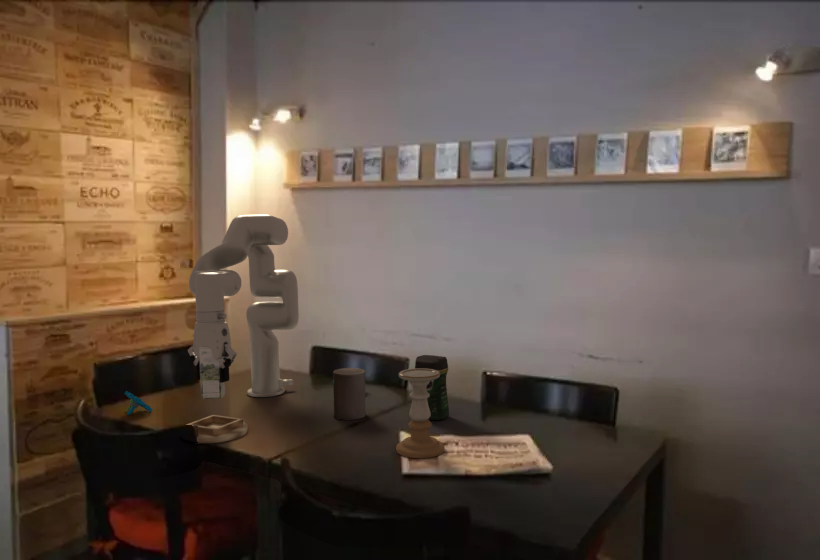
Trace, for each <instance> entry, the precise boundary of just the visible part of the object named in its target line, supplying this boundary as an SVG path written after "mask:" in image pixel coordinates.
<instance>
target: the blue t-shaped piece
mask: <svg viewBox="0 0 820 560" xmlns="http://www.w3.org/2000/svg"><path fill="white" fill-rule="evenodd" d="M124 395H126V396H127V398H128V399H130V400H129V406H128V407H127V408H126V409H125V412H126V411H128V412H126V415H127V414H128V415H127V416H129V415H130V416H131V414H132V413H133V412H134V411H135V410H136V409H137V408H139V407H140V408H141V407H142V408H143V409H144V410H146V411H148V412H149V411H150V413H152V412H153V408H152V407H151V406H150V405H149V404H146V403H145V401H143V399H142V398H140V397H137V396H136V395H135V394H133V393H132V392H129V391H127V390H126V391H125V392H124Z"/></svg>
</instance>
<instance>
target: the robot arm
mask: <svg viewBox="0 0 820 560" xmlns="http://www.w3.org/2000/svg"><path fill="white" fill-rule="evenodd" d="M288 238H289V228H288V224H287V223H286V222H285V221H284V219H282V218H279V217H277V216H273V215H270V214H243V215H242V214H241V215H238V216H235V217H234V218H233V219H232V220H231V222H230V224H229V226H228V228H227V230H226V233H225V235H224V237H223V238H222V241H221V244H219V245H217V246H215V247H213V248H212V249H210V250H209V251H207V252H205V253H204V254H203V255H201V256H200V257H199V258H198V260H196V262H195V265H194V266H193V268H192V271H191V273H190V275H189V279H188V287H189V290H190V292H191V294H193V295H194V296H195V317H196V318H195V320H196V322H195V323H194V329H193V331H194V332H193V344H192V345H191V346H190V347H189V348H188V349H187V353H188V354H189V356H190V359H191V360H192V361H193V365H194V366H195V378H196V380H197V381H200V357H199V348H200V346H201V347H207V348H210V349H211V351H212V355H213V358H214V359H218V362H219V364H220V366H221V368H219V376H220V382H221V383H223V382H225V383H226V382H228V381H230V367H231V366H232V364H233V362H234V360H235V359H236V357H237V352H236V351H235V350H234V349H233V348H232V342H231V340H232V339H231V334H230V333H231V332H230V329H229V328H230V327H229V324H228V322H227V321H226V319H227V314H226V313H225V297H232V296H235V295H236V294H238V292H240V290H241V288H242V278H241V276H240V274H239V273H238V272H237V271H235V270H231V269H226V268H229V267H233V266H236V265H238V264H240V263H242V262H244V261H245V260H246V259H247V258H248V268H249V269H248V271H249V272H248V275H249V290H250V292H251V295H252V296H253V297H255V298H260V299H274V298H275V299H282V301H256V302H253V303H251V304H250V305H249V306H248V307H247V309H246V314H245V315H246V316H245V317H246V323H247V326H248V327H247V328H248V332H249V344H250V345H249V348H250V376H251V378H250V379H251V388H248V389H247V391H246V394H247V395H248V396H249V397H253V398H270V397H277V396H280V395H282V394H284V393H285V388H284V387H286V386H293V385H294V380H293V379H291V378H289V379H287V378H286V379H285V378H284V379H282V378H280V347H279V340H278V337H277V336H276V334H275V333H274V332H273V331H274V330H279V331H280V330H281V331H282V330H285V331H286V330H289V331H290V330H293V329H295V328H296V327H297V326H298V325H299V318H300V317H299V314H300V313H299V288H298V279H297V275H296V274H295V273H294V272H293V271H292V270H289V269H276V267H275V264H276V263H275V255H274V253H273V251H272V249H271V247H270V246H281V245H284V244H285V243H286V241H287V240H288ZM223 359H224V361H223Z"/></svg>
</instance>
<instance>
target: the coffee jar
mask: <svg viewBox="0 0 820 560" xmlns="http://www.w3.org/2000/svg"><path fill="white" fill-rule="evenodd" d="M416 368H425V369H433V370H437V371H439V372H440V377H439V378H437V379H434V380H430V382H429V384H428V385H427V387H426V390H427V392H428V393H429V394H430V396H429V397H428V398H427V401H428V406H429V409H430V412H431V416H430V417H429V419H428V420H429V421H439V420H445V419H447V418H448V417H449V415H450V408H449V407H450V406H449V401H448V400H449V398H448V389H447V374H448V371H449V364H448V359H447V357H446V356H439V355H432V354H431V355H430V354H423V355H419V356H417V357H416V358H415V362H414V369H416Z"/></svg>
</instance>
